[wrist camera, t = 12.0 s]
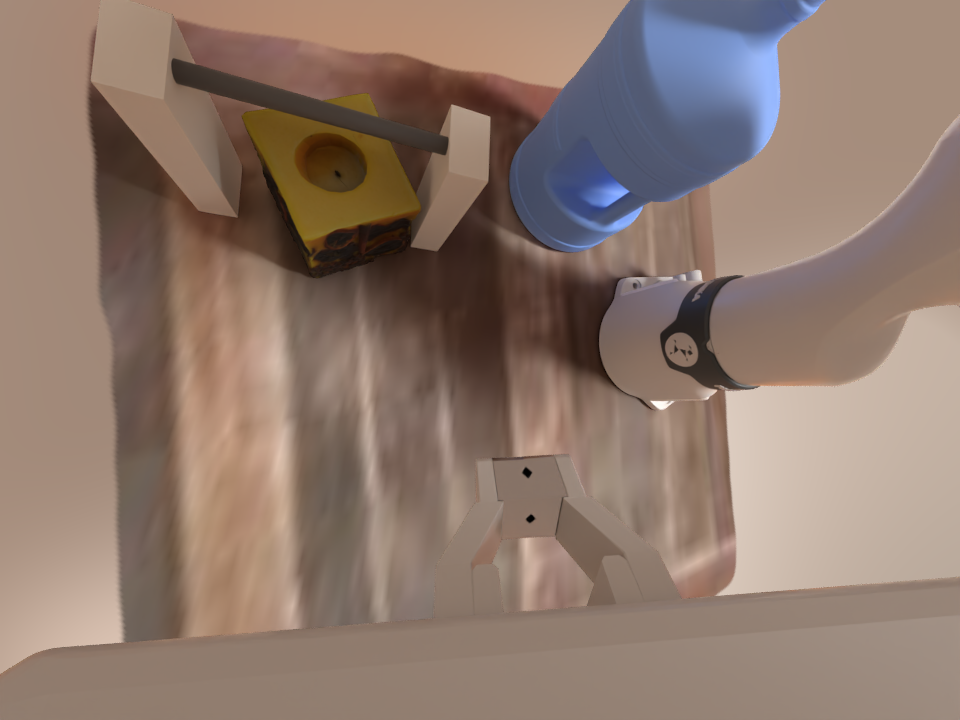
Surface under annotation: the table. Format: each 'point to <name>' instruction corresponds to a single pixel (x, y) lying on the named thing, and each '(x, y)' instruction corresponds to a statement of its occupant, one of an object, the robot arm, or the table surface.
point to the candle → (334, 186)
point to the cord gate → (202, 136)
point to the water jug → (653, 115)
